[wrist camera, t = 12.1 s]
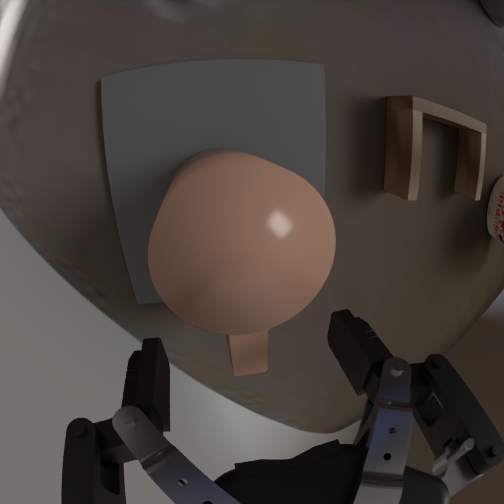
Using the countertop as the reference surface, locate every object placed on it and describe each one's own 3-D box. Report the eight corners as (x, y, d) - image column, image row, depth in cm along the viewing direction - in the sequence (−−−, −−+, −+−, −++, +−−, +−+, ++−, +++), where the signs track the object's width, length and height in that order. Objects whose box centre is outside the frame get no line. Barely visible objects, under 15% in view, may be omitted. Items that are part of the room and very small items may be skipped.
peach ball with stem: (160, 153, 15) (131, 174, 8) (276, 144, 16) (341, 159, 9) (183, 301, 19) (185, 390, 12) (276, 288, 20) (316, 367, 13)
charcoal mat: (103, 78, 12) (101, 77, 12) (321, 65, 14) (324, 64, 14) (138, 301, 19) (137, 304, 19) (316, 277, 21) (318, 280, 21)
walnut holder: (386, 96, 16) (412, 95, 13) (463, 120, 18) (486, 124, 15) (383, 189, 19) (407, 200, 16) (458, 191, 21) (479, 200, 18)
